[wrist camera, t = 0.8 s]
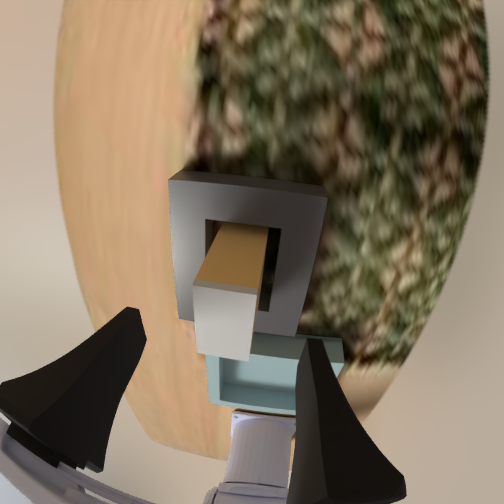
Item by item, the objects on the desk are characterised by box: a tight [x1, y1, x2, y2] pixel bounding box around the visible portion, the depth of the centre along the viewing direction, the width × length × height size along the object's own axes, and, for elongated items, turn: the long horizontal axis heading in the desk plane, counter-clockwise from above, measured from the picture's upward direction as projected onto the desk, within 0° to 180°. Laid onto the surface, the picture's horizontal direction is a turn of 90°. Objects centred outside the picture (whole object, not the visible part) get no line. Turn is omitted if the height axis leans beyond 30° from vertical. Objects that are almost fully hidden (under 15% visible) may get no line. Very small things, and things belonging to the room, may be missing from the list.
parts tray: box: [206, 332, 345, 415], centre depth 22 cm, size 9×10×2 cm
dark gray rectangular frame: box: [168, 170, 328, 337], centre depth 17 cm, size 10×8×2 cm
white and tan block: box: [192, 221, 269, 362], centre depth 15 cm, size 4×3×6 cm, turn 176°
